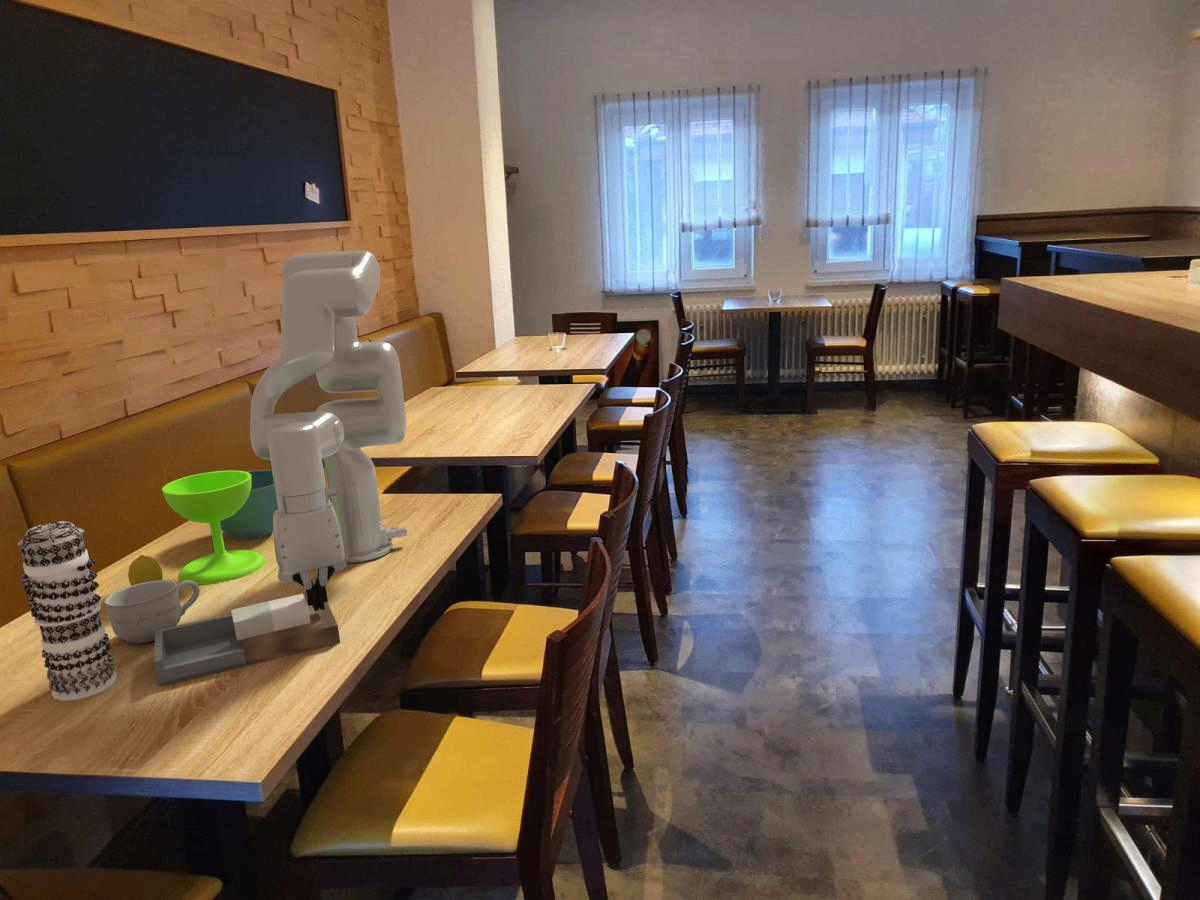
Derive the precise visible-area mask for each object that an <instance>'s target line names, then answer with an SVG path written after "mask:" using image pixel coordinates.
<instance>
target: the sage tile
mask: <svg viewBox="0 0 1200 900" xmlns="http://www.w3.org/2000/svg"><path fill="white" fill-rule="evenodd" d="M230 611H231V613H232V618H233V623H234V628H235V633H236V638H237V640H241V639H245V638H250V637H254V636H258V635H262V634H266V633H270V632H274V626H273V620H272V614H271V611H270V608H269V605H268V601H264V602H263V601H262V602H258V603H253V604H251V605H247V606H242V607H237V608H233V609H231V610H230Z"/></svg>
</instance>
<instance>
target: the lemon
mask: <svg viewBox="0 0 1200 900" xmlns="http://www.w3.org/2000/svg"><path fill="white" fill-rule="evenodd" d="M127 574H128V577H127V578H128V582H129V585H130V586H133V585H136V584H141V583H145V582H151V581H161V580H163V578H164V577H163V576H164V575H163V570H162V567H161V565H160V563H159V562H158V560H157V559H155V558H153V557H151V556H148V555H144V554H140V555H139V556H138V557H137V558H135V559H134V560H133V561H132V562H131V563H130V565H129V566H128V573H127Z"/></svg>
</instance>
